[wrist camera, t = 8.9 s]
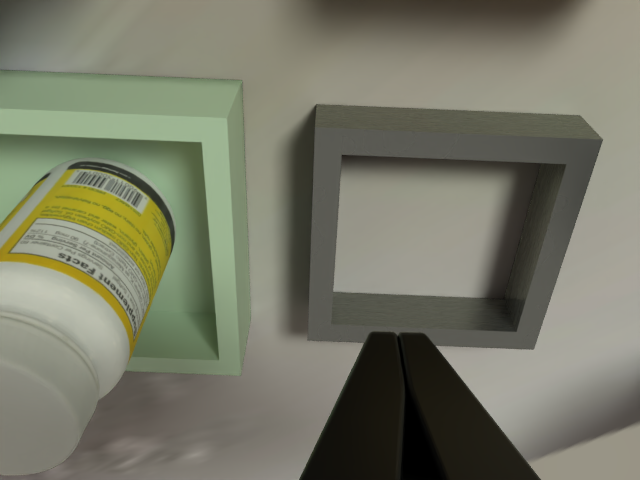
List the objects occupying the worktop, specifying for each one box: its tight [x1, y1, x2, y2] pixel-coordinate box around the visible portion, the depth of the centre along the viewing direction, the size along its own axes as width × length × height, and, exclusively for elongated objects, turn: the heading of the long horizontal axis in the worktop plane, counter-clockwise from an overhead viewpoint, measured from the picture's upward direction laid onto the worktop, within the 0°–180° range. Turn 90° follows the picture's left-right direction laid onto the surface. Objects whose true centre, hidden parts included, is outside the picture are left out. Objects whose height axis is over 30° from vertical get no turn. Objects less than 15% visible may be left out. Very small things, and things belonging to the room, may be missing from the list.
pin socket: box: [308, 104, 603, 350], centre depth 19 cm, size 8×8×2 cm
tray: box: [0, 70, 251, 376], centre depth 19 cm, size 9×9×3 cm
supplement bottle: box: [0, 157, 176, 476], centre depth 16 cm, size 5×5×8 cm
